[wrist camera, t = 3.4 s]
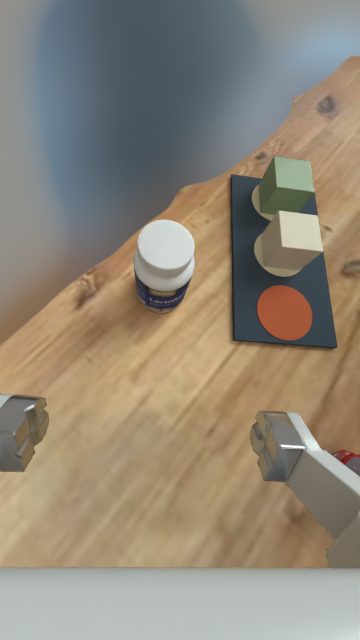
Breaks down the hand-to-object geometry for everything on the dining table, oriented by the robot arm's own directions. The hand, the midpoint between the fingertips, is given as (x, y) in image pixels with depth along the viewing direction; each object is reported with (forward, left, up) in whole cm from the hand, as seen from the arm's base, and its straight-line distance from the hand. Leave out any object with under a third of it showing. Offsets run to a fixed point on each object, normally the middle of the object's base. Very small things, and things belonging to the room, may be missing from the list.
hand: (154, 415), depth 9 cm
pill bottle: (-6, -11, -16) cm, 20 cm away
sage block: (-27, -17, -16) cm, 35 cm away
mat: (-23, -10, -16) cm, 30 cm away
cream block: (-23, -10, -16) cm, 29 cm away
